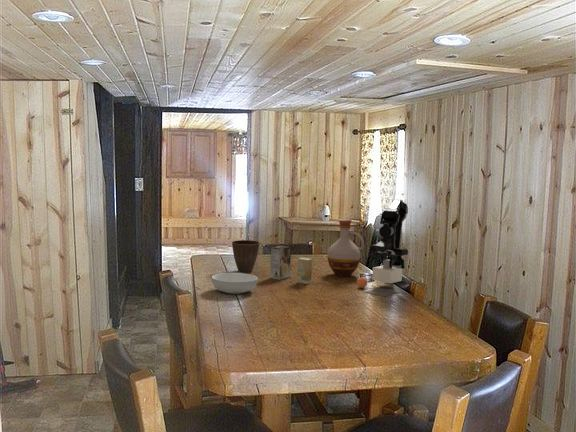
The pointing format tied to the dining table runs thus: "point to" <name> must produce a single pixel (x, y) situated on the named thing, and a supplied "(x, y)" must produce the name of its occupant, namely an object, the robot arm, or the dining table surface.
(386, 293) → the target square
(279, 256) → the coffee box
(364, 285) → the ball
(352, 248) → the jug
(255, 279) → the serving bowl
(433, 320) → the dining table surface
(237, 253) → the plant pot
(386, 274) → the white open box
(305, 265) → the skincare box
